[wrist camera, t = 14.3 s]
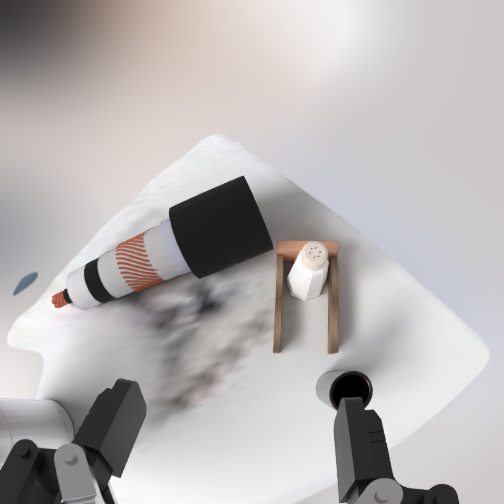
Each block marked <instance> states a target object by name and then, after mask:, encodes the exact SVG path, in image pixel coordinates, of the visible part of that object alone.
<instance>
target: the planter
mask: <svg viewBox="0 0 504 504" xmlns="http://www.w3.org/2000/svg"><path fill="white" fill-rule="evenodd" d="M316 394H317V396H318V398H319V399H320V400H321V401H322V402H323V403H325V404H327V405H328V406H330V407H331V408H333V409H335V410H336V411H338V408H339V405H340V402H341V399H342V398H355V397H361V398H362V400H363V404H364V409H365V408H366V407H367V405H368V404H369V402H370V400H371V398H372V394H373V388H372V384H371V381H370V380H369V378H368V377H367V376H366V375H365V374H363V373H361V372H358V371H330V372H327V373H325V374H324V375H322V376H321V377H320V378H319V380H318V382H317V384H316Z"/></svg>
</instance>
